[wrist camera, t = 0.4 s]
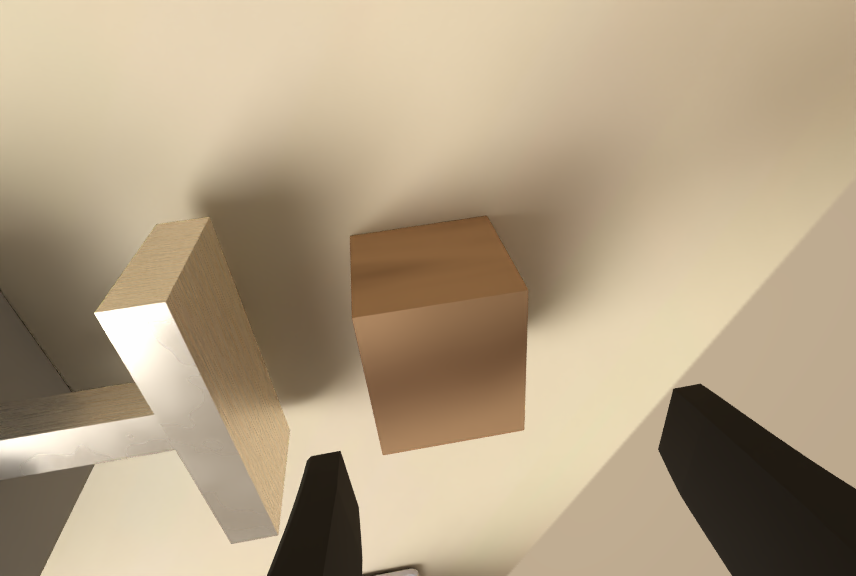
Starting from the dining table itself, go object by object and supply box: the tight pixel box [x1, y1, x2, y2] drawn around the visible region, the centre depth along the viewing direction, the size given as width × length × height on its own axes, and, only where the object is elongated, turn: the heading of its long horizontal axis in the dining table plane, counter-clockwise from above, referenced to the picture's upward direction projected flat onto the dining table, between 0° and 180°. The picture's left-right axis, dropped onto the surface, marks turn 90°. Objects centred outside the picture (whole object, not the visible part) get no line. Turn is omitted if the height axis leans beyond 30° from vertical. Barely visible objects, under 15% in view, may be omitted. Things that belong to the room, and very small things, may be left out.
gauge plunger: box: [0, 217, 290, 544], centre depth 14 cm, size 11×10×9 cm
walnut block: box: [350, 216, 528, 455], centre depth 18 cm, size 6×5×5 cm
